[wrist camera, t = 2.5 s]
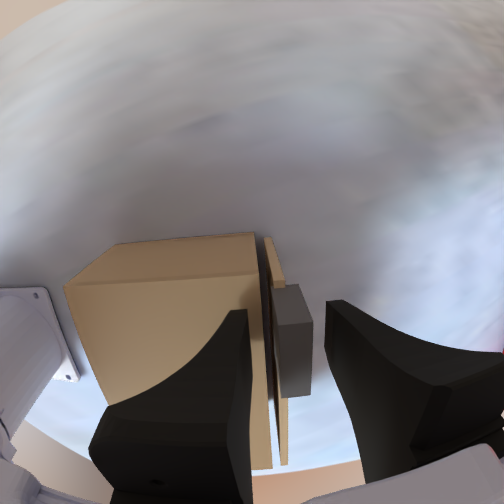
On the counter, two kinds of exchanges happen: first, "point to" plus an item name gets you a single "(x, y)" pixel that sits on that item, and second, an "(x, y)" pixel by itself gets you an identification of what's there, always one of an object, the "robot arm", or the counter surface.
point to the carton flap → (287, 343)
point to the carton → (169, 315)
